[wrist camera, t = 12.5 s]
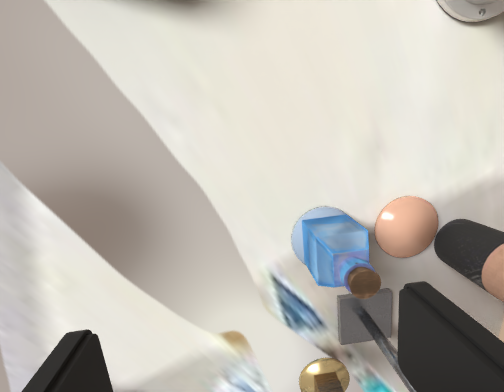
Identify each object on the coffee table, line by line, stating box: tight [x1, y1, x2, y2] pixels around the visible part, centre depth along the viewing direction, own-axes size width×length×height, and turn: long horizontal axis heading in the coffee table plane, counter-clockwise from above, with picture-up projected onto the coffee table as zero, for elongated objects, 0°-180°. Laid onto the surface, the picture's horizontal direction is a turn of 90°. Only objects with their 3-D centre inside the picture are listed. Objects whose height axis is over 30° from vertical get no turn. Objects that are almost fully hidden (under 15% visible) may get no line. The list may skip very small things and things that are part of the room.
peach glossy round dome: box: [375, 196, 438, 258], centre depth 42 cm, size 9×9×1 cm
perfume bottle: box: [302, 214, 381, 299], centre depth 34 cm, size 6×6×12 cm
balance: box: [299, 289, 415, 392], centre depth 37 cm, size 8×25×18 cm, turn 96°
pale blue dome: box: [291, 206, 345, 265], centre depth 41 cm, size 9×9×1 cm
